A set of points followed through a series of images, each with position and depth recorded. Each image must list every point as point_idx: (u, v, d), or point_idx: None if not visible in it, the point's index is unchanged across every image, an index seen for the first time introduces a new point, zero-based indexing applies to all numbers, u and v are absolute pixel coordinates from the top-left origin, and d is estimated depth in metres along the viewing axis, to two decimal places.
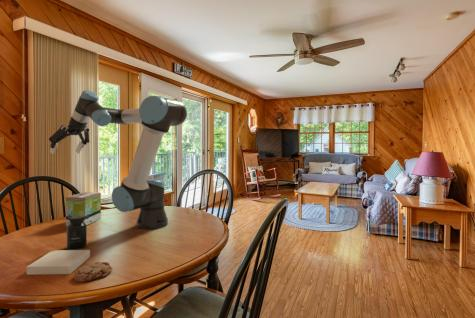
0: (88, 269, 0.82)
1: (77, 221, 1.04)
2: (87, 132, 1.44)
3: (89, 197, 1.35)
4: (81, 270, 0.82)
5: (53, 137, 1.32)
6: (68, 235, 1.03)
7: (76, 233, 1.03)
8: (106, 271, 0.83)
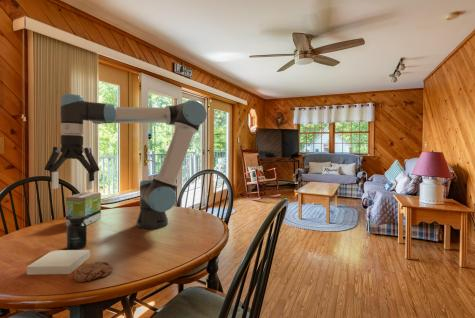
0: (88, 269, 0.82)
1: (77, 221, 1.04)
2: None
3: (89, 197, 1.35)
4: (81, 270, 0.82)
5: (95, 164, 1.06)
6: (68, 235, 1.03)
7: (76, 233, 1.03)
8: (106, 271, 0.83)
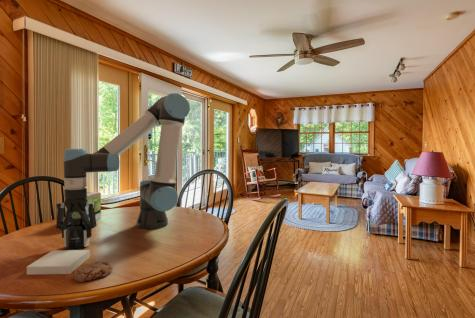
0: (88, 269, 0.82)
1: (77, 221, 1.04)
2: None
3: (89, 197, 1.35)
4: (81, 270, 0.82)
5: (94, 221, 1.07)
6: (68, 235, 1.03)
7: (76, 233, 1.03)
8: (106, 272, 0.83)
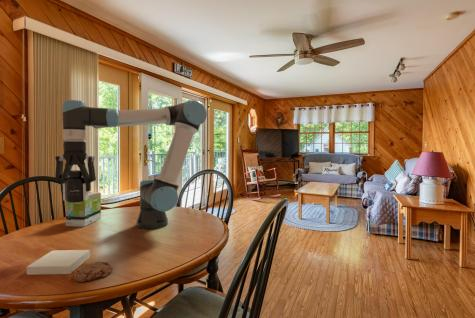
0: (88, 269, 0.82)
1: (76, 174, 1.03)
2: None
3: (89, 197, 1.35)
4: (81, 270, 0.82)
5: (94, 174, 1.06)
6: (67, 187, 1.02)
7: (76, 185, 1.02)
8: (106, 272, 0.83)
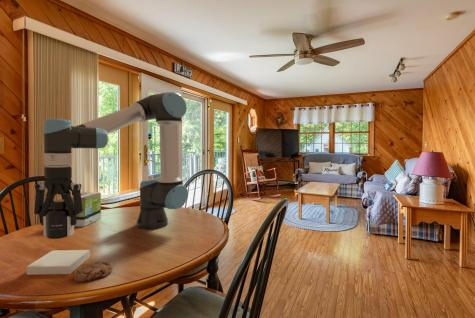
0: (88, 269, 0.82)
1: (59, 205, 0.88)
2: None
3: (89, 197, 1.35)
4: (81, 270, 0.82)
5: (80, 205, 0.90)
6: (48, 221, 0.87)
7: (58, 219, 0.87)
8: (106, 272, 0.83)
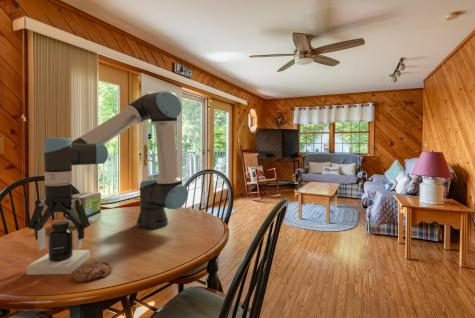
0: (88, 269, 0.82)
1: (61, 227, 0.88)
2: None
3: (89, 197, 1.35)
4: (81, 270, 0.82)
5: (86, 219, 0.91)
6: (50, 244, 0.87)
7: (60, 242, 0.87)
8: (106, 272, 0.83)
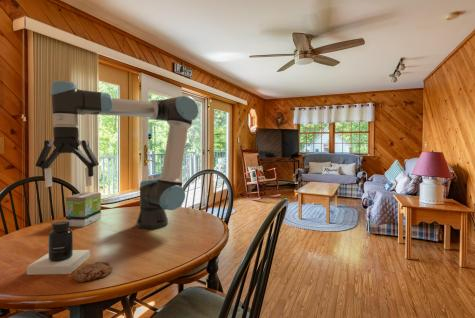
0: (88, 269, 0.82)
1: (61, 227, 0.88)
2: None
3: (89, 197, 1.35)
4: (81, 270, 0.82)
5: (94, 158, 0.97)
6: (50, 244, 0.87)
7: (60, 242, 0.87)
8: (106, 272, 0.83)
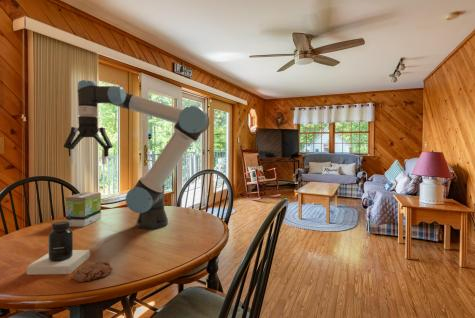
0: (88, 269, 0.82)
1: (61, 227, 0.88)
2: None
3: (89, 197, 1.35)
4: (81, 270, 0.82)
5: (109, 142, 1.22)
6: (50, 244, 0.87)
7: (60, 242, 0.87)
8: (106, 272, 0.83)
